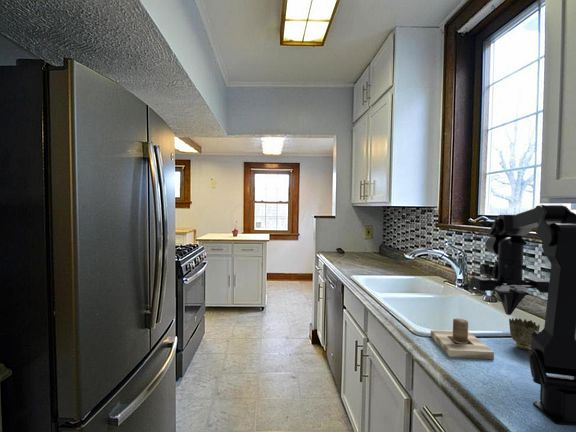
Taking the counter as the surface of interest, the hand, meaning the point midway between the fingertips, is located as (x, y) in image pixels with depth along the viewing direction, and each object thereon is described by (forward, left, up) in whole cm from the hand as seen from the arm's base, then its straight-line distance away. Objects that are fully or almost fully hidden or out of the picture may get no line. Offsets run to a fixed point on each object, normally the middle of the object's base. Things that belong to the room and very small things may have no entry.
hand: (508, 314), depth 87 cm
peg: (+6, +10, -12) cm, 17 cm away
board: (+6, +10, -12) cm, 17 cm away
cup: (+7, -9, -13) cm, 17 cm away
